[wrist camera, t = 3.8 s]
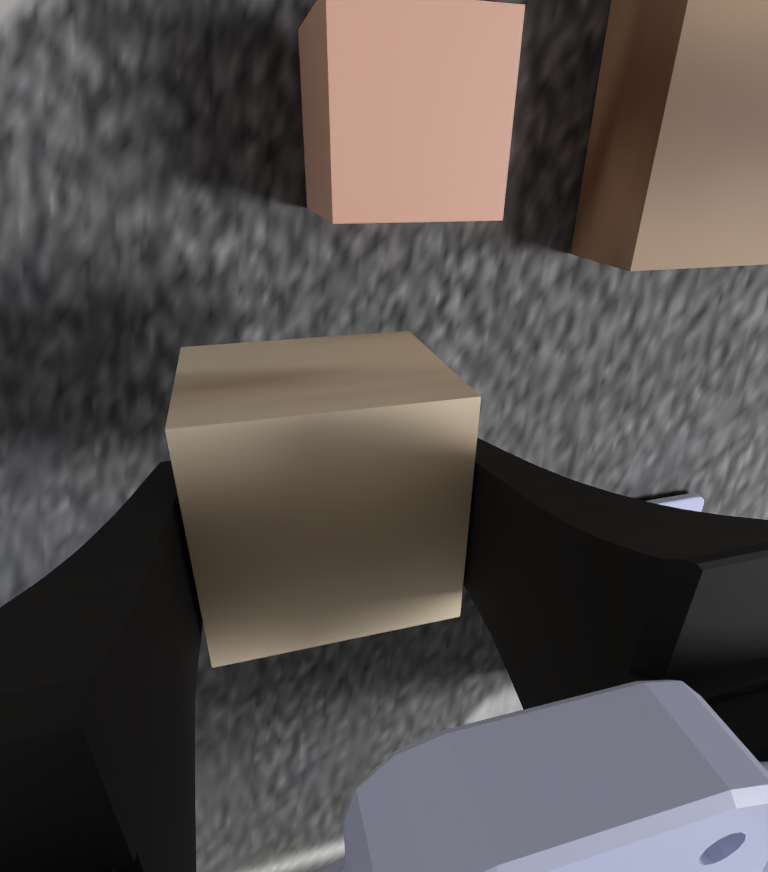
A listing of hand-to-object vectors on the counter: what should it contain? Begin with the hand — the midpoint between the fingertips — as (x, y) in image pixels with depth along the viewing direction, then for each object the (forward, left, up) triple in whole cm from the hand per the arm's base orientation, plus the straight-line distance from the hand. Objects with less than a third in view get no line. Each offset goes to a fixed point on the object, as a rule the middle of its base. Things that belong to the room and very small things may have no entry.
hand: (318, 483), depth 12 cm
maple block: (0, 0, -2) cm, 2 cm away
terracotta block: (+7, -3, -6) cm, 10 cm away
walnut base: (+7, -13, -6) cm, 16 cm away
